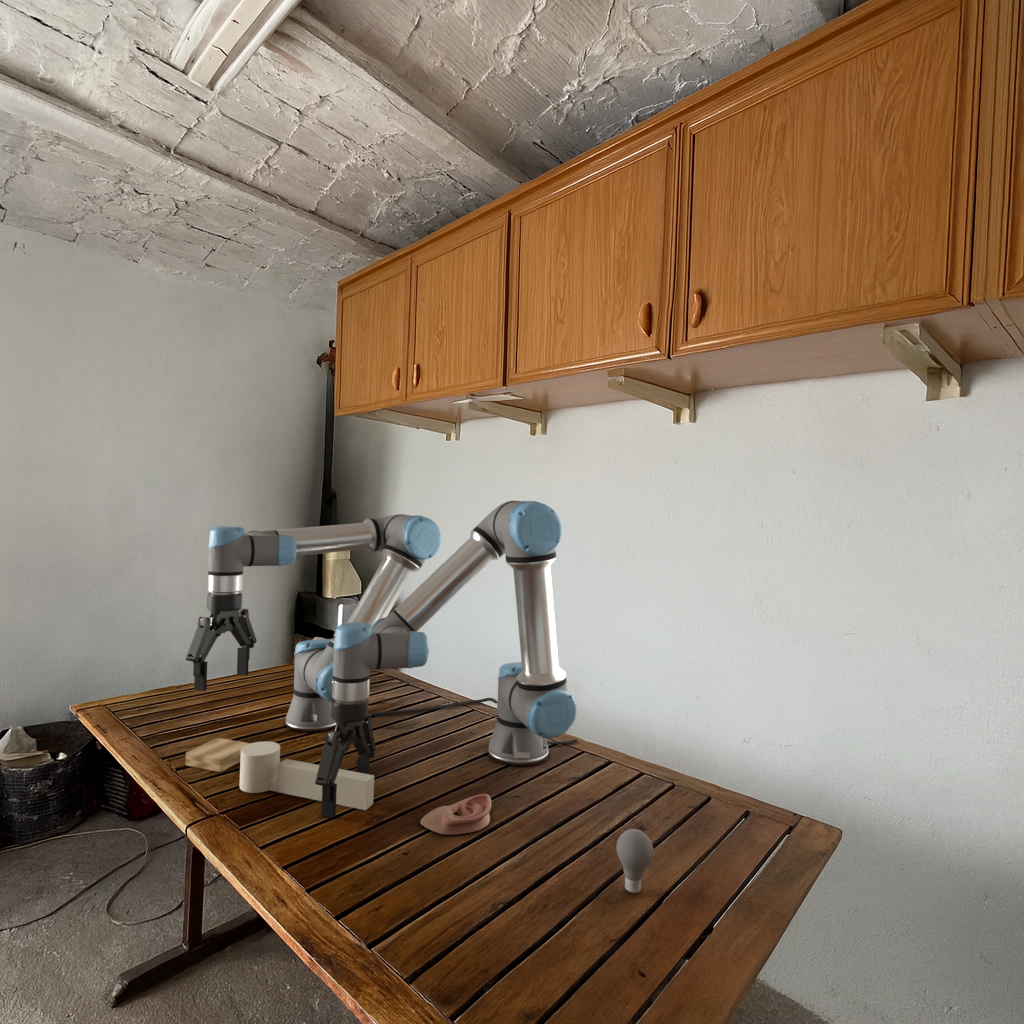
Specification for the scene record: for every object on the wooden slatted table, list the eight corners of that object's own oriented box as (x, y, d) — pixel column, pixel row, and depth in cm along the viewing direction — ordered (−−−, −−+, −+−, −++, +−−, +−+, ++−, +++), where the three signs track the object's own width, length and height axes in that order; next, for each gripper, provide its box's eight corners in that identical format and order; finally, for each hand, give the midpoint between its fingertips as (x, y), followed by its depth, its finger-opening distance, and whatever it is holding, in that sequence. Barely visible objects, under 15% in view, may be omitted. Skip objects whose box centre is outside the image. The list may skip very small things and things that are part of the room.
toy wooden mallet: (231, 789, 135) (232, 752, 135) (256, 774, 143) (257, 739, 143) (359, 816, 126) (361, 776, 126) (379, 798, 134) (380, 761, 134)
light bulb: (610, 879, 108) (613, 822, 108) (644, 879, 109) (647, 822, 109) (619, 902, 102) (622, 840, 102) (655, 901, 103) (658, 840, 103)
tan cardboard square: (185, 765, 146) (185, 752, 146) (217, 749, 156) (217, 737, 156) (220, 772, 143) (221, 759, 143) (251, 756, 153) (251, 743, 153)
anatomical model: (415, 809, 122) (434, 784, 133) (414, 830, 122) (433, 802, 133) (482, 819, 119) (496, 792, 130) (481, 840, 119) (495, 811, 130)
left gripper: (248, 584, 162) (245, 667, 162) (169, 598, 138) (166, 695, 138) (273, 587, 159) (270, 670, 160) (197, 601, 136) (194, 699, 136)
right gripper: (364, 681, 144) (360, 774, 145) (298, 714, 121) (294, 825, 121) (394, 685, 142) (389, 780, 142) (333, 720, 119) (328, 833, 119)
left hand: (222, 682), depth 149 cm, fingers open, 13 cm apart
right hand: (345, 801), depth 132 cm, fingers open, 12 cm apart
